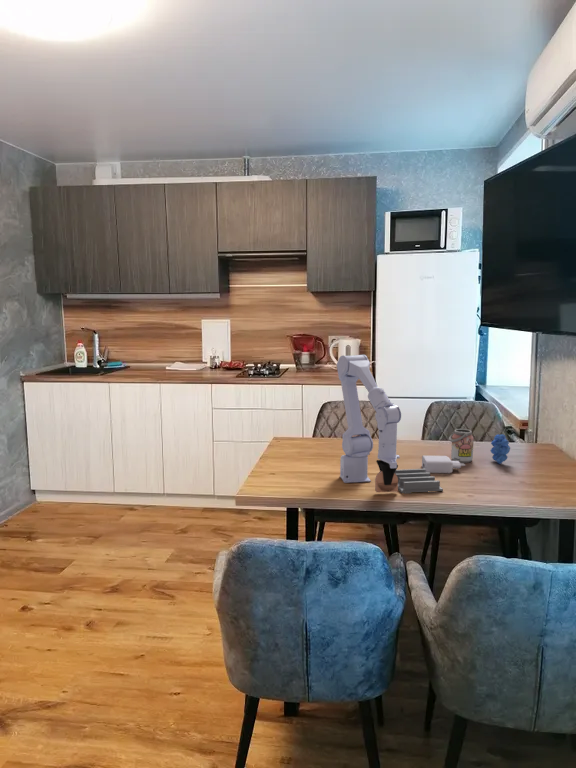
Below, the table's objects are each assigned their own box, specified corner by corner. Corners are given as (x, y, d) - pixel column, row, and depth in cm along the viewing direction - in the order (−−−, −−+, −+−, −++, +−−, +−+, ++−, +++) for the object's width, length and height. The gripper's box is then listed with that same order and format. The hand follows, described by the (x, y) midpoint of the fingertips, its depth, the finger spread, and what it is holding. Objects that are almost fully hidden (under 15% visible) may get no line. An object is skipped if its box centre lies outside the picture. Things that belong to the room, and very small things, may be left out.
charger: (467, 474, 201) (426, 474, 201) (461, 467, 210) (421, 466, 210) (468, 462, 200) (426, 461, 201) (461, 455, 209) (421, 454, 210)
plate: (376, 492, 179) (377, 471, 178) (375, 490, 181) (375, 469, 180) (397, 491, 179) (398, 470, 178) (395, 489, 181) (396, 468, 180)
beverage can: (452, 463, 213) (453, 433, 212) (445, 457, 222) (446, 428, 220) (475, 463, 214) (477, 433, 212) (468, 457, 222) (469, 428, 220)
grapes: (517, 467, 208) (519, 436, 206) (500, 468, 207) (502, 437, 205) (502, 459, 219) (503, 429, 218) (486, 459, 219) (487, 430, 217)
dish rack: (401, 493, 180) (402, 483, 180) (388, 479, 195) (388, 469, 194) (442, 491, 182) (443, 481, 181) (426, 477, 196) (427, 468, 196)
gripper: (406, 448, 171) (405, 490, 173) (392, 437, 185) (391, 475, 187) (384, 449, 170) (383, 491, 172) (372, 437, 184) (371, 476, 186)
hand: (386, 483), depth 180 cm, fingers closed on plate, 2 cm apart
